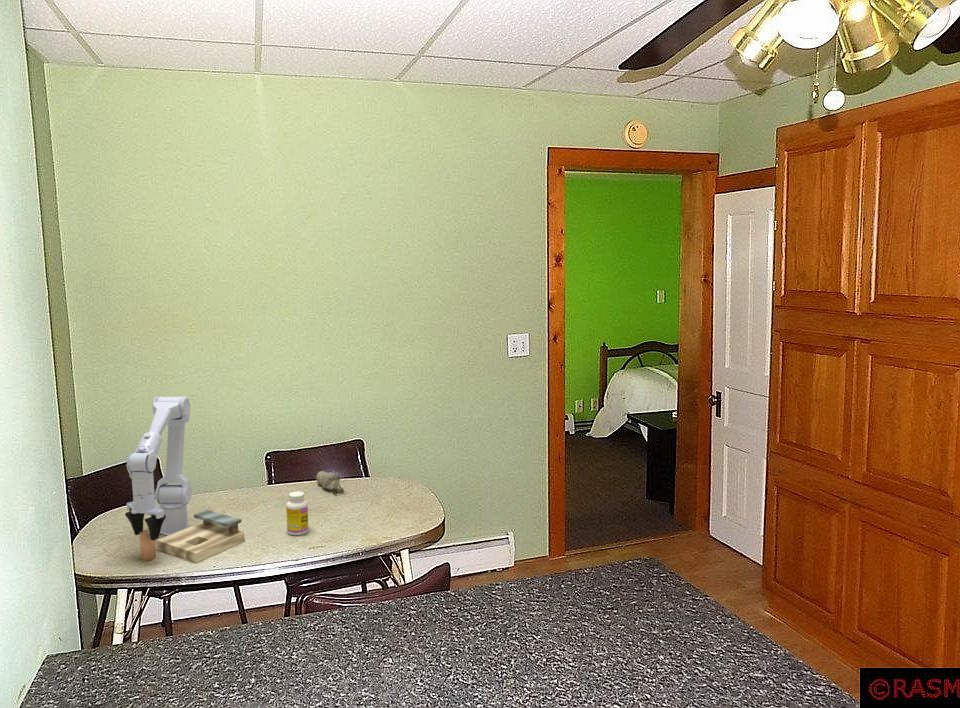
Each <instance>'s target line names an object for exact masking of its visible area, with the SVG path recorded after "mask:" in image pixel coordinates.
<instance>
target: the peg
mask: <svg viewBox="0 0 960 708" xmlns="http://www.w3.org/2000/svg"><path fill="white" fill-rule="evenodd" d="M155 541H156V540H154V541H152V540H151V538H150V532H149V529H143V531H141V532H140V533H139V546H140V547H139V548H140V559H141V561H144V562H149V561H152V560H154V559H156V557H157V554H156V552H157V551H156V542H155Z"/></svg>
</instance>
